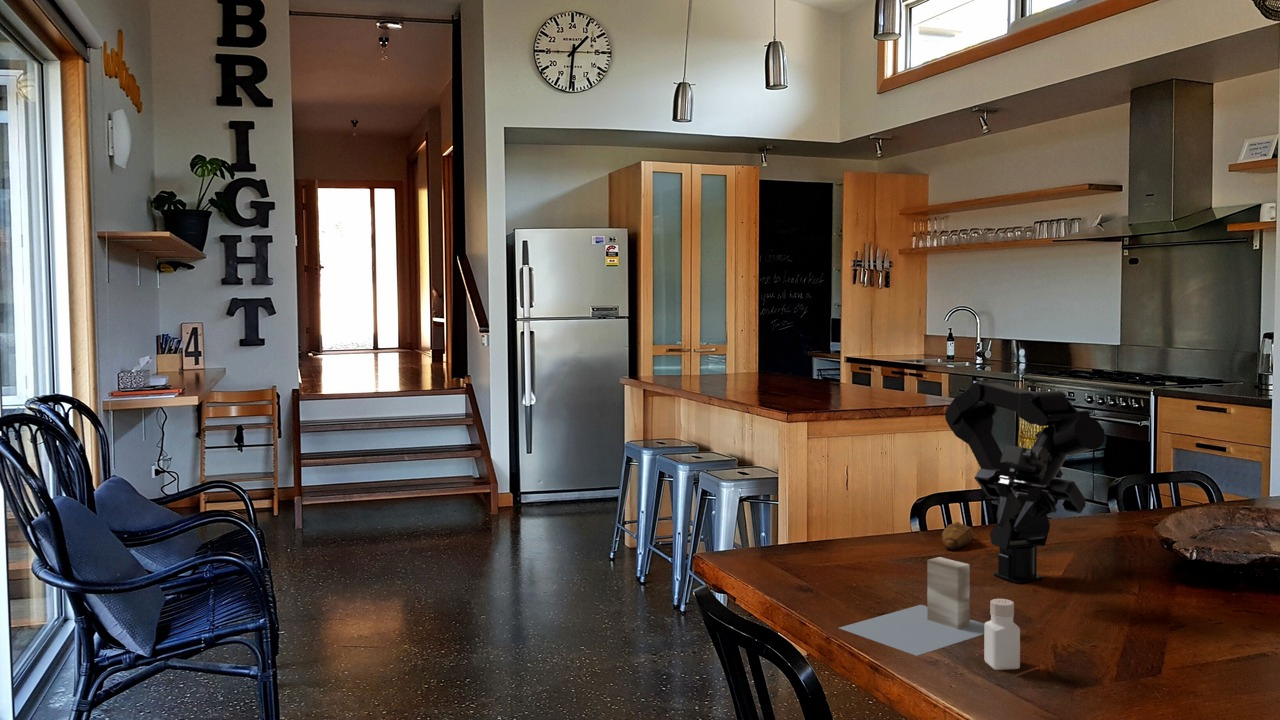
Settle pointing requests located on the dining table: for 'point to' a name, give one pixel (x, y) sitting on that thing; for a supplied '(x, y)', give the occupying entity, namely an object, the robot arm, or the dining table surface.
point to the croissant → (957, 535)
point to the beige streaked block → (948, 592)
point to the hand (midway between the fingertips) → (1007, 528)
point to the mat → (913, 631)
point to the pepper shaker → (1002, 637)
